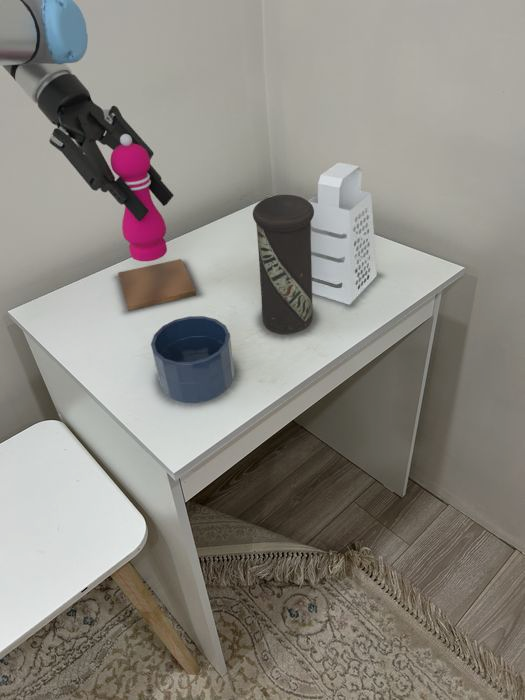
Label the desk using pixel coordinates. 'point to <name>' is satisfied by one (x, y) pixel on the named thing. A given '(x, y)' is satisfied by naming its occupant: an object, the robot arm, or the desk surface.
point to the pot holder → (156, 284)
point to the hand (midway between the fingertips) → (156, 208)
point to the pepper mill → (133, 171)
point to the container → (285, 262)
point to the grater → (342, 234)
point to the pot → (193, 358)
